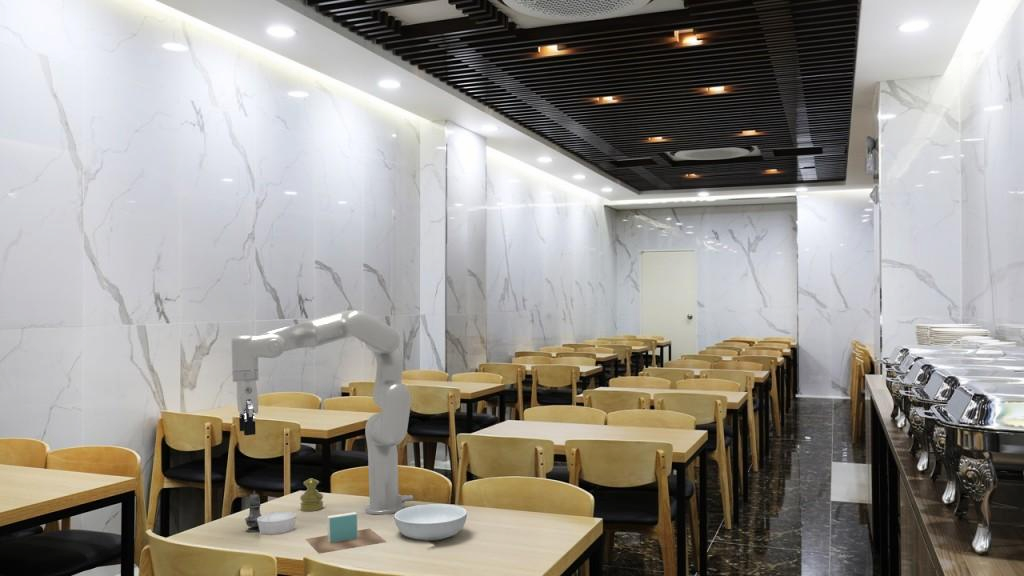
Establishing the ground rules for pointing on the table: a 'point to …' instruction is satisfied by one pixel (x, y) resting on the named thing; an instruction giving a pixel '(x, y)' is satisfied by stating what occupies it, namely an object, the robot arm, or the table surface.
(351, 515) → the tile
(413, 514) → the serving bowl
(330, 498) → the table surface
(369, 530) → the board
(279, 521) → the ramekin
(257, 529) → the salt shaker
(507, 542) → the table surface
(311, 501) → the olive chess piece
